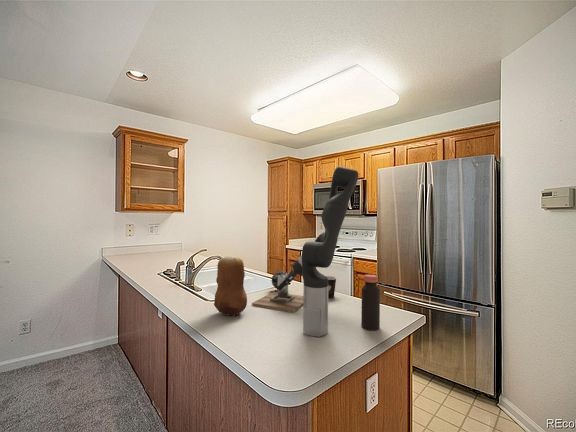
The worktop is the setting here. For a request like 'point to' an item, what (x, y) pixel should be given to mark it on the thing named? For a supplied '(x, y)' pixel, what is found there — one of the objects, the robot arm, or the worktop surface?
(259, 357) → the worktop surface
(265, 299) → the pocket base
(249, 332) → the worktop surface
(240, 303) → the butternut squash
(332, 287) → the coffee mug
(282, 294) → the steel hub
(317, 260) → the robot arm
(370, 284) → the bottle
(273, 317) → the worktop surface
